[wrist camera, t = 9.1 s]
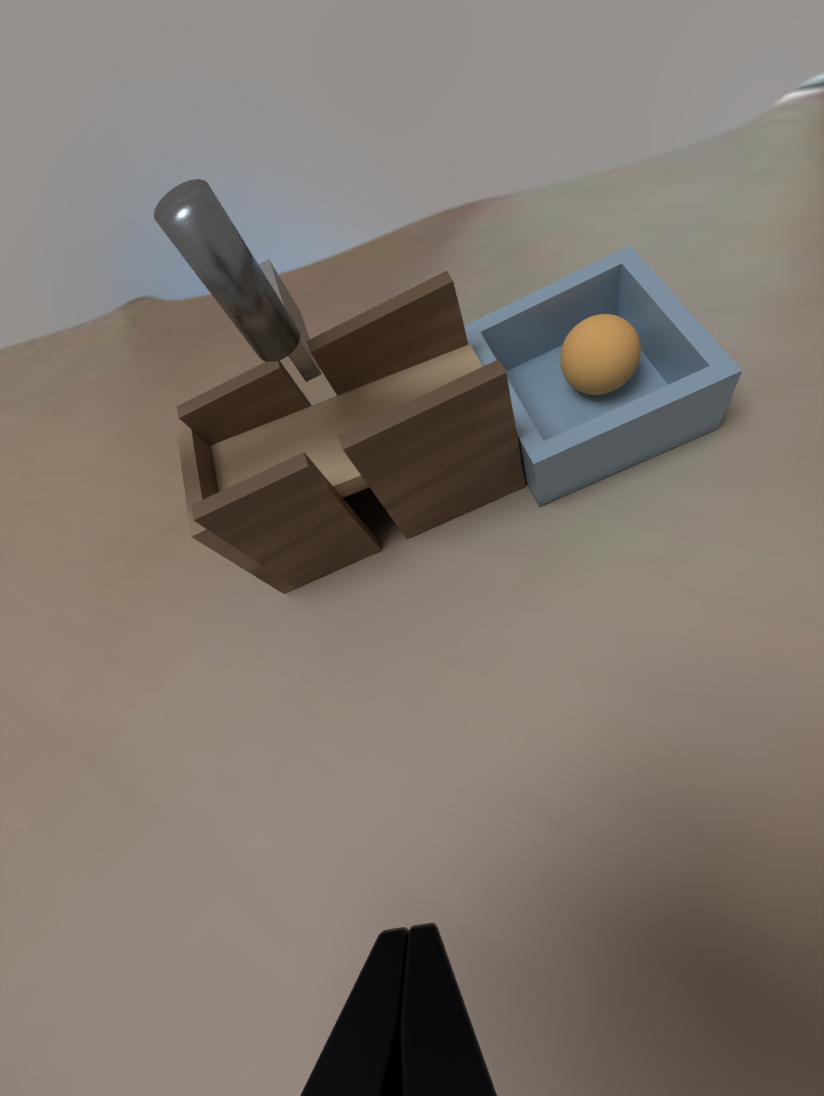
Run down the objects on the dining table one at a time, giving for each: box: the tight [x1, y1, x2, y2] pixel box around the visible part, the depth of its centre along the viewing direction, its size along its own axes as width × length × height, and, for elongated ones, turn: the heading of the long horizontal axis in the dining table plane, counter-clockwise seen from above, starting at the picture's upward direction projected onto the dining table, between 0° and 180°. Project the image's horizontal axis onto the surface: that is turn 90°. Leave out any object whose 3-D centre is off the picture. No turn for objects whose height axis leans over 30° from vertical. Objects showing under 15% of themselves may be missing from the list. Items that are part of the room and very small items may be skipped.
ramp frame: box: [176, 271, 526, 594], centre depth 23 cm, size 6×13×8 cm, turn 109°
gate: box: [154, 179, 321, 382], centre depth 20 cm, size 8×2×9 cm, turn 19°
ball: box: [560, 314, 641, 395], centre depth 24 cm, size 4×4×4 cm
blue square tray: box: [464, 245, 742, 507], centre depth 24 cm, size 9×9×4 cm
